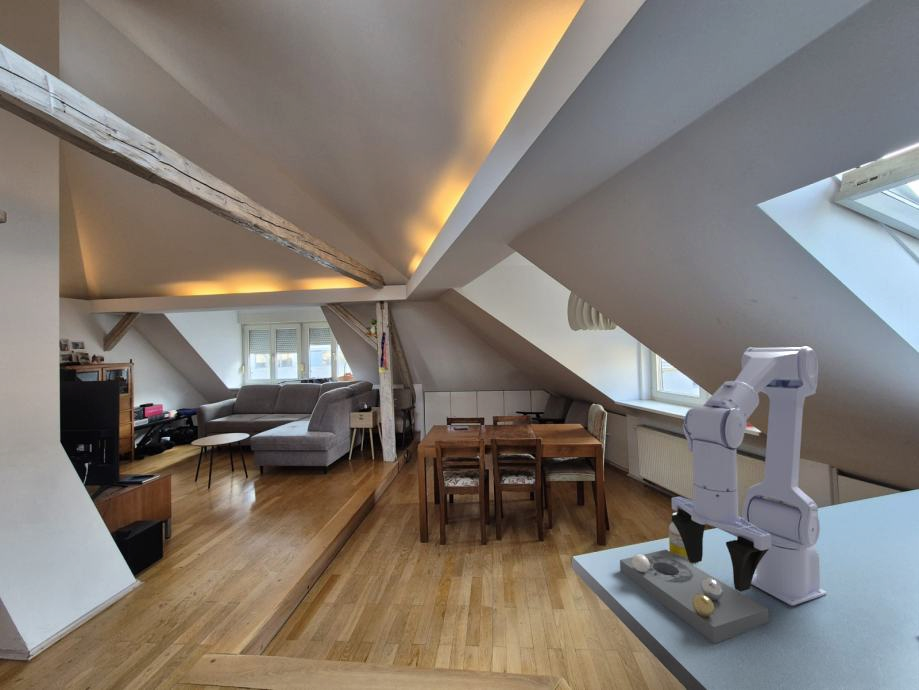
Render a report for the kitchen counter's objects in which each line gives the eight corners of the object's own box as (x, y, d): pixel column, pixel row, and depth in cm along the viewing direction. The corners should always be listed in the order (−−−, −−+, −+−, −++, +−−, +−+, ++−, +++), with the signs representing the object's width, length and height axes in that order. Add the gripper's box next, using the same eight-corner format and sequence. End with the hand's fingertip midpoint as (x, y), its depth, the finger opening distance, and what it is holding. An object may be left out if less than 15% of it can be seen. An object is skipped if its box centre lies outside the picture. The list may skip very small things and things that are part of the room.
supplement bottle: (680, 570, 77) (679, 522, 78) (664, 556, 83) (662, 511, 83) (705, 568, 78) (704, 520, 78) (687, 554, 83) (685, 510, 84)
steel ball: (710, 591, 67) (709, 572, 67) (728, 602, 64) (727, 582, 64) (696, 594, 66) (695, 576, 66) (713, 606, 63) (713, 586, 63)
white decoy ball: (641, 565, 75) (640, 549, 75) (653, 573, 72) (653, 557, 72) (628, 568, 74) (628, 552, 74) (640, 576, 71) (640, 560, 71)
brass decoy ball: (701, 606, 63) (701, 588, 63) (719, 618, 60) (719, 599, 60) (688, 611, 62) (687, 592, 62) (705, 623, 59) (704, 603, 59)
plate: (666, 561, 81) (665, 549, 81) (768, 624, 62) (768, 609, 62) (620, 572, 77) (619, 559, 77) (714, 643, 58) (713, 627, 58)
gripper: (656, 474, 64) (658, 555, 64) (743, 506, 51) (746, 610, 50) (688, 469, 67) (690, 547, 66) (780, 499, 53) (783, 598, 52)
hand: (717, 574), depth 58 cm, fingers open, 7 cm apart
